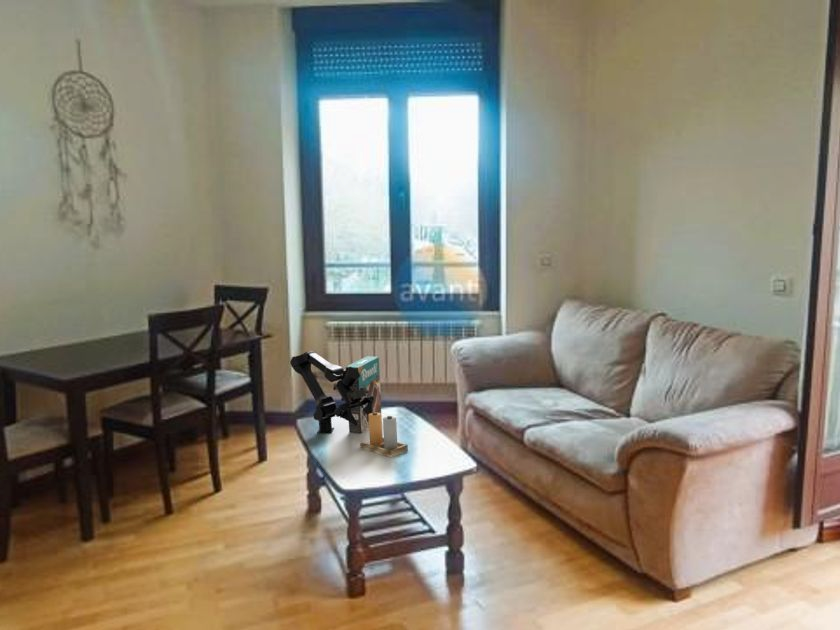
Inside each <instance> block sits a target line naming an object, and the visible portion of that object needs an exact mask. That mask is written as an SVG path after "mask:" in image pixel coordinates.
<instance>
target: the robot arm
mask: <svg viewBox="0 0 840 630" xmlns="http://www.w3.org/2000/svg"><path fill="white" fill-rule="evenodd" d="M290 365H291V366H290V367H292V369H293V371H295V373H297V374H298V375H300V376H301V377H302V379H303V381H304V383H305V384H306V387H307V388H308V390H309V391H310V394H311V395H312V397H313V399H314V401H315V410H316V411H315V412H314V413H313V416H312V417H313V420H315V421H317V422H318V430H317V431H316V433H317V434H332V432H333V431H334V430H335V428H334V427H333V426H332V422H333V421H332V418H335V417H337V418H340V419H343V420H345V421H348V423H349V422H351V423H352V424H354V425H355V426H357V425H358V424H357V422H356V420H355V418H354V416H353V415H352V413H351V409H353V408H357V407H360V406H361V407H362V408H364V409H363V411H364V412H365V413H366V414H367V416H368V415H369V414H370V413H373V412H372V404H373V403H374V401H375V399H374V397H373V396H367V397H365V398H364V399H363V400H362V401H361V402H360V400H361V399H362V397H364V396H366V394H367V393H368V390H367V388H366V387H362V388H360V390H358V391H356V390H353V389H352V387H351V386H353V385H354V384H355V382H356V381H357V380H358V379H359V377H360V373H359V371H357V370H356V369H354V368H352V367H351V366H350V367H347V366H346V367H347V368H346V367H345V369H344V367H342V366H340V365H338V364H334V363H331V362H329V361H328V360H326V359H325V358H323V356H320V355H319V354H317V352H316V351H314V350H309V351H305V352H304V353H302V354H300V355H299V354H298V355H296V356H295V355H294V356H292V357H291V359H290ZM312 365H313V366H314V367H315V368H317V369H318V370H319V371H321V372H322V373H323V374H324V377H325V379H326V380H327V381H329V382H330V383H333V387H332V388H333V391H337V392H338V393H339V395H340V397H341V399H340V400H341V402H344V403H342V404H339V405H338V406H337V404H336V402H335V400H334V397H333V396H331V395H330V396H328V395H326V393H325V391H324V390H323V388H322V387H321V385H320V383H319V381H318V380H317V378H316V376H315V374H314V372H313V371H312ZM334 382H337V383H334ZM368 417H369V416H368Z"/></svg>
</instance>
